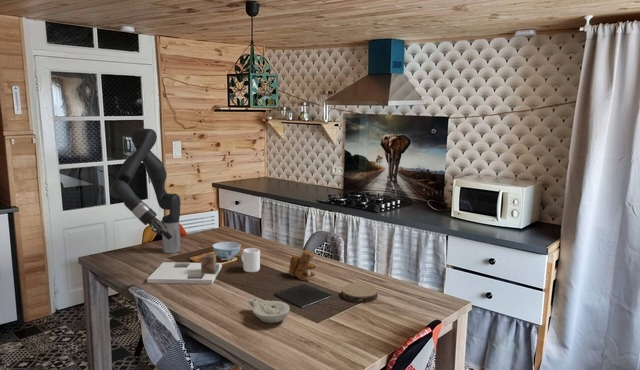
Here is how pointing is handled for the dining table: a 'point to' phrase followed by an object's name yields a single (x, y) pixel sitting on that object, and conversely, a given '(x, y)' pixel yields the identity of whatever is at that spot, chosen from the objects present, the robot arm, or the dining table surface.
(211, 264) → the block
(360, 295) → the wood slice
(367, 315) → the dining table surface
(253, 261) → the mug
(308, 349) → the dining table surface
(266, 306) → the oil lamp
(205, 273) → the pad
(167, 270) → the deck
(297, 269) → the stuffed squirrel
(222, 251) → the chinaware
